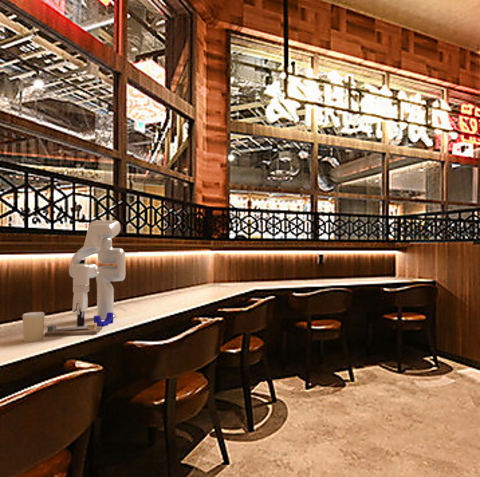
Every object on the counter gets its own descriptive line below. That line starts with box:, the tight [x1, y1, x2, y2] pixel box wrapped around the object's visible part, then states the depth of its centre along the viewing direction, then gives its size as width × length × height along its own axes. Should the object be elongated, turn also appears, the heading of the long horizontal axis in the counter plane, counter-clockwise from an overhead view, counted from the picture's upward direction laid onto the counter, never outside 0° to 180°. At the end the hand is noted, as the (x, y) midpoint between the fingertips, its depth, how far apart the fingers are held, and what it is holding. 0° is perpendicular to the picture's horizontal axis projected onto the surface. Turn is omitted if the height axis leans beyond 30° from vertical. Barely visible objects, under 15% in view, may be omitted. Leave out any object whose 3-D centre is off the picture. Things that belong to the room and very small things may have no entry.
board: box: [44, 322, 103, 337], centre depth 186 cm, size 12×24×4 cm, turn 97°
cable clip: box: [93, 312, 114, 328], centre depth 204 cm, size 12×4×6 cm, turn 160°
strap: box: [55, 323, 89, 331], centre depth 186 cm, size 16×5×1 cm, turn 97°
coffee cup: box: [21, 311, 46, 342], centre depth 173 cm, size 9×9×12 cm
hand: (80, 325), depth 185 cm, fingers closed
